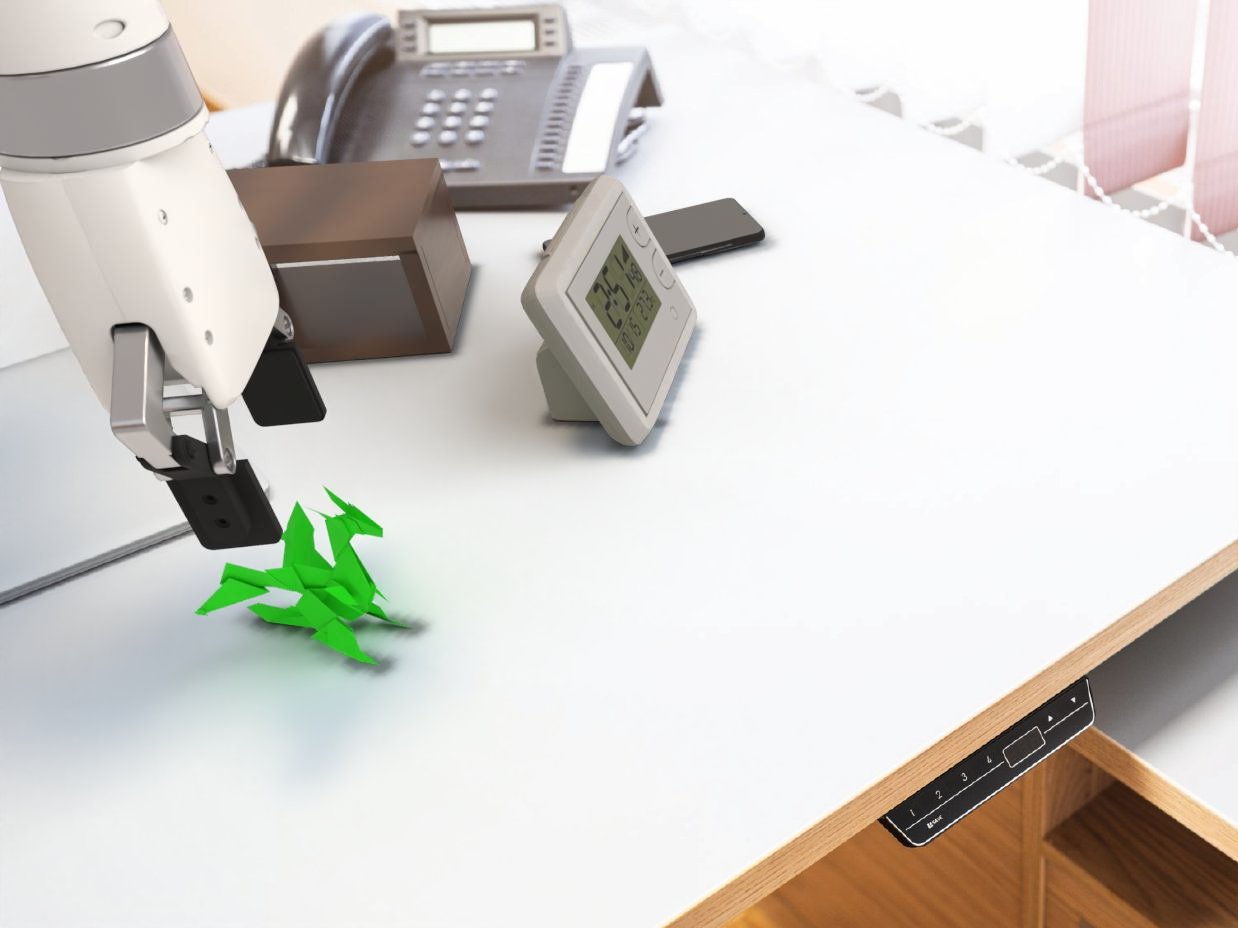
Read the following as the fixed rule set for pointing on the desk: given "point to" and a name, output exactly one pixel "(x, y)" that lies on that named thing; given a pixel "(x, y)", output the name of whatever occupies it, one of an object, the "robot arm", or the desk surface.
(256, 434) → the desk surface
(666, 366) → the digital clock
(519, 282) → the desk surface
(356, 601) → the figurine
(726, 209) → the smartphone
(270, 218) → the stand
